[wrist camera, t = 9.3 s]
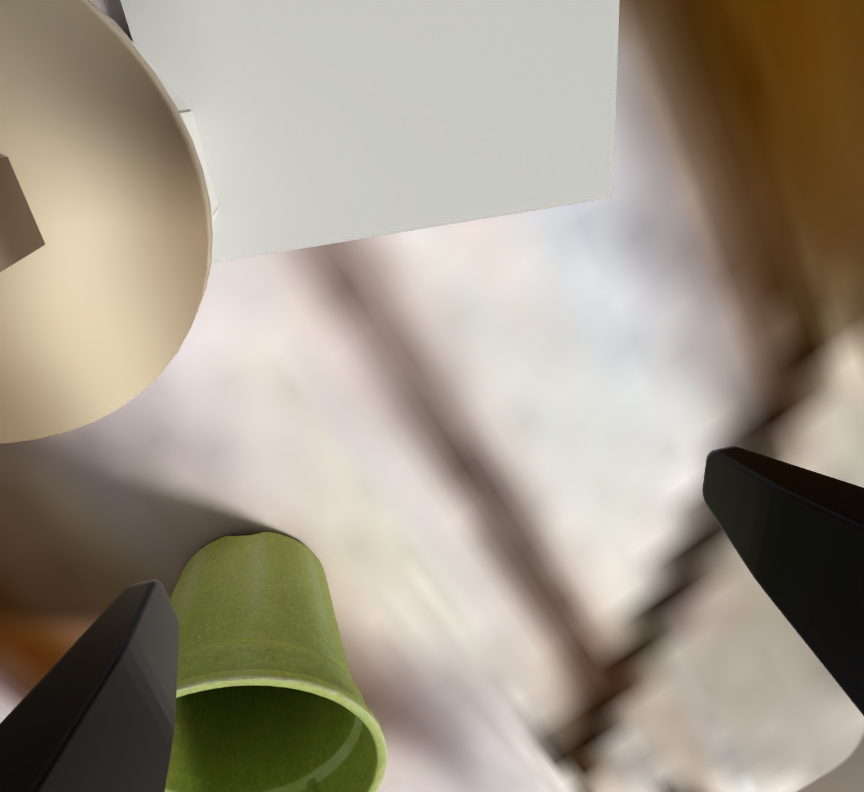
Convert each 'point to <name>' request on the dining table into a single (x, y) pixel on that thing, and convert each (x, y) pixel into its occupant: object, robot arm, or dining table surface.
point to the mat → (387, 110)
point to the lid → (90, 220)
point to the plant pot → (266, 677)
